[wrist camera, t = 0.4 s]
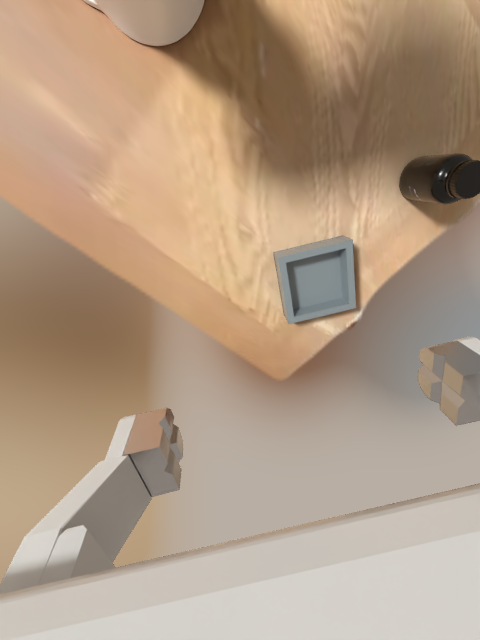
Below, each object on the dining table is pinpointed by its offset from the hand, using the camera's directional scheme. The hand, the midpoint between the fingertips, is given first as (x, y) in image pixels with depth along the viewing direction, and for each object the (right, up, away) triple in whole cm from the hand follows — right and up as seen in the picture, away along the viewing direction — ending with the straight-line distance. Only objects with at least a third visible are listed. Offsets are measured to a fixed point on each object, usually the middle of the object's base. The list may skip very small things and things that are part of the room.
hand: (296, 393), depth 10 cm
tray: (+12, +11, +48) cm, 50 cm away
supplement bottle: (+29, +27, +42) cm, 57 cm away
